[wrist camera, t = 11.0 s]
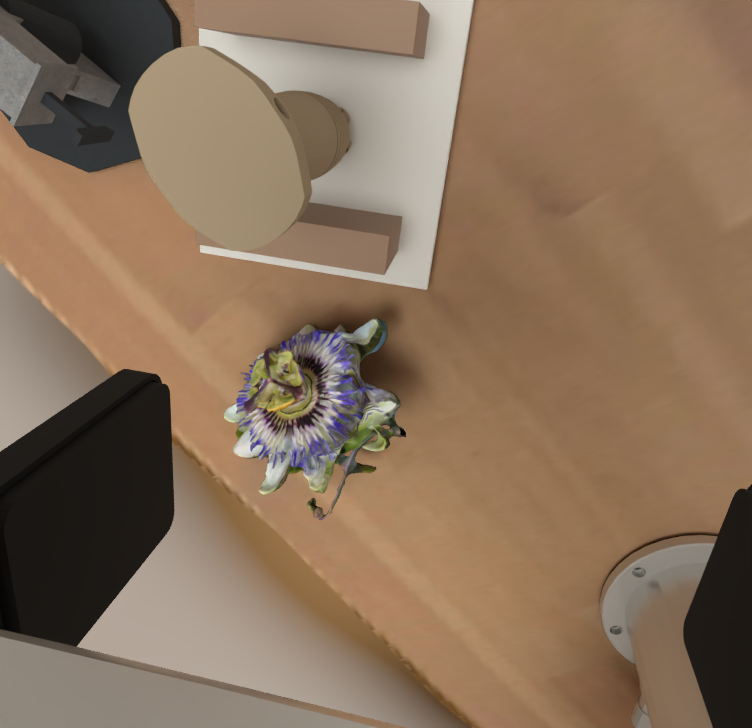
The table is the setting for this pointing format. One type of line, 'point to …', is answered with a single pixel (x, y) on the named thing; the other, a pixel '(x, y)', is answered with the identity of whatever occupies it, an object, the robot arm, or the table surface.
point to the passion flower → (314, 408)
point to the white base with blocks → (358, 122)
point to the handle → (233, 145)
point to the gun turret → (79, 73)
